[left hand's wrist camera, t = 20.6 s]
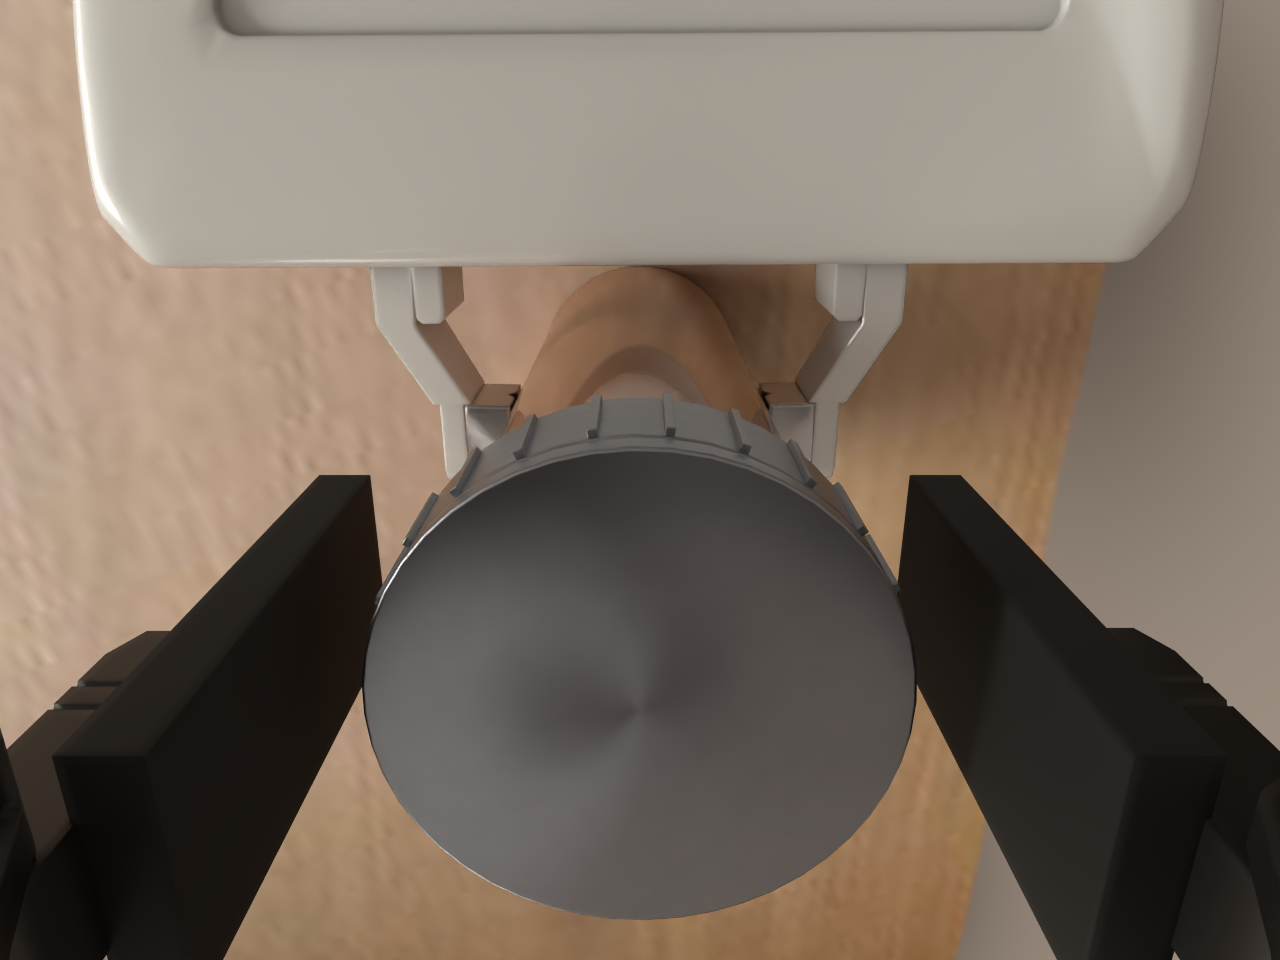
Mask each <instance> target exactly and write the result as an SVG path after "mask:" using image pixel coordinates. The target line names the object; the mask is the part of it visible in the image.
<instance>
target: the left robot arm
mask: <svg viewBox="0 0 1280 960" xmlns="http://www.w3.org/2000/svg"><path fill="white" fill-rule="evenodd" d="M898 584H899V586H900V589H901V591H898V592H897V596H898V598H899V600H900V602H901V604H902V606H903V609H904V612H905V615H906V619H907V622H908V625H909V629H910V632H911V635H912V638H913V645H914V652H915V660H916V667H917V685H918V687H919V689H920V691H921V693H922V695H923V697H924V699H925V701H926V703H927V705H928V707H929V709H930V711H931V713H932V715H933V717H934V719H935V721H936V723H937V725H938V726H939V728H940V730H941V732H942V734H943V736H944V738H945V740H946V742H947V744H948V746H949V748H950V750H951V752H952V754H953V756H954V758H955V760H956V762H957V764H958V766H959V768H960V770H961V772H962V774H963V776H964V778H965V780H966V782H967V784H968V786H969V787H970V789H971V791H972V793H973V795H974V797H975V799H976V801H977V803H978V805H979V807H980V809H981V811H982V813H983V815H984V817H985V819H986V821H987V823H988V825H989V827H990V829H991V831H992V833H993V835H994V837H995V838H996V841H997V843H998V844H999V846H1000V848H1001V850H1002V852H1003V854H1004V856H1005V858H1006V860H1007V862H1008V864H1009V866H1010V868H1011V870H1012V872H1013V874H1014V876H1015V878H1016V880H1017V882H1018V884H1019V886H1020V888H1021V890H1022V892H1023V894H1024V896H1025V898H1026V899H1027V902H1028V904H1029V905H1030V907H1031V909H1032V911H1033V913H1034V915H1035V917H1036V919H1037V921H1038V923H1039V925H1040V927H1041V929H1042V931H1043V933H1044V935H1045V937H1046V939H1047V941H1048V943H1049V945H1050V947H1051V949H1052V951H1053V953H1054V955H1055V957H1056V959H1057V960H1172V957H1173V954H1174V951H1175V953H1176V954H1177V956H1178V957H1179V959H1180V960H1280V751H1279V750H1278V749H1277V748H1276V747H1275V746H1274V745H1273V744H1272V743H1271V742H1270V741H1269V740H1267V739H1266V738H1265V737H1264V736H1263V735H1262V734H1261V733H1260V732H1259V731H1258V730H1257V729H1256V728H1255V727H1254V726H1253V725H1252V724H1251V723H1250V722H1249V721H1248V720H1247V719H1246V718H1244V717H1243V716H1242V715H1241V714H1240V713H1239V712H1238V711H1237V710H1236V709H1235V708H1234V707H1233V706H1227V700H1226V699H1225V698H1224V697H1223V696H1221V695H1220V694H1219V693H1218V692H1217V691H1216V690H1215V689H1214V688H1213V687H1212V686H1211V685H1210V684H1209V683H1204V682H1203V677H1202V676H1201V675H1200V674H1199V673H1197V672H1196V671H1195V670H1194V669H1193V668H1192V667H1191V666H1190V665H1189V664H1188V663H1187V662H1186V661H1185V660H1184V659H1183V658H1182V657H1181V656H1180V655H1179V654H1178V653H1177V652H1175V651H1174V650H1172V649H1170V648H1169V647H1167V646H1165V645H1163V644H1161V643H1160V642H1158V641H1156V640H1154V639H1152V638H1151V637H1149V636H1147V635H1145V634H1143V633H1142V632H1140V631H1138V630H1136V629H1134V628H1106V627H1105V626H1104V625H1103V624H1102V623H1101V622H1100V621H1099V620H1098V619H1097V618H1096V617H1095V616H1094V614H1093V613H1092V612H1091V611H1090V610H1089V609H1088V608H1087V607H1086V606H1085V605H1084V604H1083V603H1082V602H1081V601H1080V600H1079V599H1078V598H1077V597H1076V596H1075V595H1074V594H1073V592H1072V591H1071V590H1070V589H1069V588H1068V587H1067V586H1066V585H1065V584H1064V583H1063V582H1062V581H1061V580H1060V579H1059V578H1058V577H1057V576H1056V575H1055V574H1054V573H1053V572H1052V570H1051V569H1050V568H1049V567H1048V566H1047V565H1046V564H1045V563H1044V562H1043V561H1042V560H1041V559H1040V558H1039V557H1038V556H1037V555H1036V554H1035V553H1034V552H1033V551H1032V550H1031V548H1030V547H1029V546H1028V545H1027V544H1026V543H1025V542H1024V541H1023V540H1022V539H1021V538H1020V537H1019V536H1018V535H1017V534H1016V533H1015V532H1014V531H1013V530H1012V529H1011V528H1010V526H1009V525H1008V524H1007V523H1006V522H1005V521H1004V520H1003V519H1002V518H1001V517H1000V516H999V515H998V514H997V513H996V512H995V511H994V510H993V509H992V508H991V507H990V506H989V504H988V503H987V502H986V501H985V500H984V499H983V498H982V497H981V496H980V495H979V494H978V493H977V492H976V491H975V490H974V489H973V488H972V487H971V486H970V485H969V484H968V482H967V481H966V480H965V479H964V478H963V477H962V476H961V475H910V478H909V487H908V496H907V505H906V514H905V523H904V532H903V540H902V549H901V558H900V567H899V576H898ZM381 587H382V576H381V567H380V558H379V549H378V540H377V532H376V523H375V514H374V505H373V496H372V487H371V478H370V475H319V476H318V477H317V478H316V479H315V480H314V481H313V482H312V484H311V485H310V486H309V487H308V488H307V489H306V490H305V491H304V492H303V493H302V494H301V495H300V496H299V497H298V498H297V499H296V500H295V501H294V502H293V503H292V504H291V506H290V507H289V508H288V509H287V510H286V511H285V512H284V513H283V514H282V515H281V516H280V517H279V518H278V519H277V520H276V521H275V522H274V523H273V524H272V525H271V526H270V528H269V529H268V530H267V531H266V532H265V533H264V534H263V535H262V536H261V537H260V538H259V539H258V540H257V541H256V542H255V543H254V544H253V545H252V546H251V547H250V548H249V550H248V551H247V552H246V553H245V554H244V555H243V556H242V557H241V558H240V559H239V560H238V561H237V562H236V563H235V564H234V565H233V566H232V567H231V568H230V569H229V570H228V572H227V573H226V574H225V575H224V576H223V577H222V578H221V579H220V580H219V581H218V582H217V583H216V584H215V585H214V586H213V587H212V588H211V589H210V590H209V591H208V592H207V594H206V595H205V596H204V597H203V598H202V599H201V600H200V601H199V602H198V603H197V604H196V605H195V606H194V607H193V608H192V609H191V610H190V611H189V612H188V613H187V614H186V616H185V617H184V618H183V619H182V620H181V621H180V622H179V623H178V624H177V625H176V626H175V627H174V628H173V629H172V630H171V631H146V632H144V633H143V634H141V635H139V636H137V637H136V638H134V639H132V640H130V641H128V642H127V643H125V644H123V645H121V646H119V647H118V648H116V649H114V650H112V651H111V652H109V653H107V654H105V655H104V656H103V657H102V658H101V659H100V660H99V661H98V662H97V663H96V664H95V665H94V666H93V667H92V668H91V669H90V670H89V671H88V672H87V673H86V674H85V675H84V676H83V677H82V678H81V679H79V680H78V685H77V687H71V688H70V689H69V690H68V691H67V692H66V693H65V694H64V695H63V696H62V697H61V698H60V699H59V700H58V701H57V702H56V703H55V704H54V709H53V710H47V711H46V712H45V713H44V714H43V715H42V716H41V717H40V718H39V719H38V720H37V721H36V722H35V723H34V724H33V725H32V726H31V727H30V728H29V729H28V730H27V731H26V732H24V733H23V734H22V735H21V736H20V737H19V738H18V739H17V740H16V741H15V742H14V743H13V744H12V745H11V746H10V747H9V748H8V749H6V746H5V742H4V739H3V736H2V732H1V729H0V960H103V959H104V958H105V956H106V955H107V957H108V960H223V959H224V957H225V955H226V953H227V951H228V949H229V947H230V945H231V943H232V941H233V939H234V937H235V935H236V933H237V931H238V929H239V927H240V925H241V923H242V921H243V919H244V917H245V915H246V913H247V911H248V909H249V907H250V906H251V904H252V902H253V900H254V898H255V896H256V894H257V892H258V890H259V888H260V886H261V884H262V882H263V880H264V878H265V876H266V874H267V872H268V870H269V868H270V866H271V864H272V862H273V860H274V858H275V856H276V854H277V852H278V850H279V848H280V846H281V845H282V843H283V841H284V839H285V837H286V835H287V833H288V831H289V829H290V827H291V825H292V823H293V821H294V819H295V817H296V815H297V813H298V811H299V809H300V807H301V805H302V803H303V801H304V799H305V797H306V795H307V793H308V791H309V789H310V787H311V786H312V784H313V782H314V780H315V778H316V776H317V774H318V772H319V770H320V768H321V766H322V764H323V762H324V760H325V758H326V756H327V754H328V752H329V750H330V748H331V746H332V744H333V742H334V740H335V738H336V736H337V734H338V732H339V730H340V728H341V726H342V725H343V723H344V721H345V719H346V717H347V715H348V713H349V711H350V709H351V707H352V705H353V703H354V701H355V699H356V697H357V695H358V693H359V691H360V689H361V687H362V673H363V659H364V650H365V646H366V641H367V637H368V633H369V628H370V624H371V620H372V618H373V615H374V613H375V610H376V608H377V604H374V601H375V598H376V595H377V594H378V592H379V590H380V589H381Z"/></svg>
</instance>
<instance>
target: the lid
mask: <svg viewBox="0 0 1280 960" xmlns="http://www.w3.org/2000/svg"><path fill="white" fill-rule="evenodd" d="M867 533H868V530H867V528H866V526H865V525H864V523H863V521H862V519H861V518H860V516H859V514H858V513H857V511H856V509H855V507H854V506H853V504H852V502H851V500H850V499H849V497H848V495H847V494H846V492H845V490H844V488H843V487H842V486H841V484H840V483H839V482H837V483H836V484H834V485H832V484H831V483H830V482H829V481H828V479H827V478H826V477H825V476H824V475H823V474H822V473H821V472H820V471H819V470H818V468H817V467H816V466H815V465H814V464H813V463H811V462H810V461H809V460H808V459H807V458H805V456H804V455H803V453H802V451H801V449H800V447H799V445H798V443H797V442H796V441H794V440H793V439H790V440H789V441H788V443H786V442H785V441H783V440H782V439H780V438H778V437H777V436H775V435H773V434H772V433H770V432H769V431H767V430H765V429H764V428H762V427H760V426H758V425H755V424H753V423H751V422H749V421H747V420H744V419H742V418H741V415H740V412H739V410H736V409H734V408H730V411H729V413H727V412H724V411H720V410H717V409H714V408H710V407H707V406H704V405H700V404H695V403H689V402H683V401H677V400H672V394H668V393H663V395H662V399H658V398H622V399H611V400H602V395H596V396H593V398H592V402H590V403H585V404H581V405H576V406H572V407H567V408H564V409H561V410H558V411H556V412H553V413H550V414H547V415H544V416H542V417H539V418H537V417H536V415H535V413H533V414H531V415H528V416H527V417H526V420H525V422H524V425H522V426H520V427H518V428H516V429H514V430H512V431H510V432H508V433H507V434H505V435H503V436H502V437H500V438H499V439H498V440H496V441H495V442H493V443H492V444H490V445H489V446H488V447H486V448H485V449H483V450H482V451H480V449H479V448H478V447H476V448H474V449H473V450H472V451H471V452H470V454H469V456H468V458H467V459H466V461H465V463H464V465H463V467H462V469H461V470H460V471H459V472H458V473H456V475H455V476H454V477H453V478H452V480H451V481H450V482H449V483H448V484H447V486H446V487H445V488H444V489H443V491H442V492H441V493H440V494H439V496H438V495H436V494H435V493H432V494H431V495H430V497H429V498H428V500H427V502H426V503H425V505H424V507H423V509H422V510H421V512H420V514H419V515H418V517H417V519H416V520H415V522H414V524H413V526H412V527H411V529H410V531H409V532H408V534H407V536H406V537H405V539H404V541H403V543H402V544H403V545H404V546H405V547H404V549H403V550H402V552H401V554H400V556H399V557H398V559H397V561H396V563H395V564H394V566H393V568H392V570H391V571H390V573H389V575H388V576H387V578H386V580H385V582H384V583H383V585H382V587H381V589H380V590H379V592H378V594H377V595H376V598H375V601H374V604H377V608H376V610H375V613H374V615H373V618H372V620H371V624H370V628H369V633H368V637H367V641H366V646H365V650H364V659H363V673H362V692H363V704H364V715H365V719H366V724H367V728H368V732H369V736H370V740H371V744H372V747H373V750H374V752H375V755H376V757H377V760H378V762H379V765H380V767H381V770H382V772H383V775H384V776H385V778H386V780H387V782H388V783H389V785H390V787H391V789H392V790H393V792H394V794H395V796H396V797H397V799H398V801H399V802H400V803H401V805H402V806H403V807H404V809H405V810H406V811H407V812H408V814H409V815H410V816H411V818H412V819H413V820H414V822H415V823H416V824H417V825H418V826H419V827H420V828H421V829H422V830H423V831H424V832H425V833H426V834H427V835H428V836H429V837H430V838H431V839H432V840H433V841H434V842H435V843H436V844H437V845H438V846H439V847H440V848H441V849H442V850H443V851H445V852H446V853H447V854H449V855H450V856H451V857H452V858H454V859H455V860H456V861H457V862H459V863H460V864H461V865H463V866H464V867H465V868H467V869H469V870H470V871H472V872H474V873H475V874H477V875H478V876H480V877H482V878H483V879H485V880H487V881H488V882H490V883H492V884H494V885H496V886H498V887H500V888H502V889H504V890H506V891H509V892H511V893H513V894H515V895H517V896H519V897H522V898H525V899H528V900H530V901H533V902H536V903H539V904H542V905H545V906H548V907H551V908H555V909H559V910H564V911H568V912H572V913H576V914H581V915H588V916H595V917H603V918H611V919H634V920H652V919H666V918H679V917H685V916H691V915H697V914H702V913H708V912H713V911H716V910H720V909H723V908H727V907H730V906H734V905H738V904H741V903H744V902H746V901H749V900H751V899H754V898H757V897H759V896H762V895H764V894H767V893H769V892H772V891H774V890H775V889H777V888H779V887H781V886H783V885H785V884H787V883H789V882H791V881H792V880H794V879H796V878H798V877H800V876H801V875H803V874H804V873H806V872H807V871H809V870H810V869H812V868H813V867H815V866H816V865H818V864H819V863H820V862H822V861H823V860H825V859H826V858H827V857H829V856H830V855H831V854H832V853H833V852H834V851H835V850H837V849H838V848H839V847H840V846H841V845H842V844H843V843H845V842H846V841H847V840H848V839H849V838H850V837H851V836H852V835H853V834H854V833H855V832H856V830H857V829H858V828H859V827H860V826H861V825H862V824H863V823H864V821H865V820H866V819H867V818H868V817H869V816H870V815H871V813H872V812H873V810H874V809H875V807H876V806H877V804H878V803H879V802H880V800H881V799H882V797H883V796H884V794H885V793H886V791H887V790H888V788H889V786H890V784H891V782H892V780H893V778H894V776H895V774H896V772H897V770H898V768H899V766H900V764H901V762H902V759H903V756H904V753H905V749H906V746H907V743H908V740H909V737H910V734H911V730H912V724H913V718H914V713H915V707H916V698H917V667H916V660H915V652H914V645H913V638H912V635H911V632H910V629H909V625H908V622H907V619H906V615H905V612H904V609H903V606H902V604H901V602H900V600H899V598H898V596H897V594H896V592H898V591H901V589H900V586H899V584H898V582H897V580H896V578H895V577H894V575H893V573H892V572H891V570H890V568H889V566H888V565H887V563H886V561H885V560H884V558H883V556H882V554H881V553H880V551H879V549H878V548H877V546H876V544H875V542H874V541H873V539H872V537H871V535H870V534H868V535H866V536H865V534H867Z"/></svg>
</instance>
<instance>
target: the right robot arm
mask: <svg viewBox="0 0 1280 960" xmlns="http://www.w3.org/2000/svg"><path fill="white" fill-rule="evenodd" d="M1223 6H1224V0H73V20H74V39H75V50H76V62H77V73H78V84H79V95H80V103H81V112H82V120H83V129H84V136H85V143H86V150H87V157H88V164H89V171H90V176H91V181H92V186H93V191H94V196H95V199H96V202H97V205H98V208H99V211H100V212H101V214H102V216H103V217H104V219H105V220H106V221H107V222H108V223H109V224H110V225H111V226H112V227H113V229H114V230H115V231H116V232H117V233H118V234H119V235H120V236H121V237H122V238H123V239H124V240H125V241H126V243H127V244H128V245H129V246H130V247H131V248H132V249H133V250H134V251H135V252H136V253H137V254H138V255H139V256H140V257H141V258H142V259H143V260H144V261H145V262H147V263H149V264H150V265H152V266H155V267H159V268H306V267H370V273H371V282H372V291H373V300H374V310H375V319H376V325H377V327H378V328H379V330H380V331H381V332H382V334H383V335H384V337H385V338H386V339H387V341H388V342H389V343H390V345H391V346H392V348H393V349H394V350H395V352H396V353H397V355H398V356H399V357H400V359H401V360H402V361H403V363H404V364H405V366H406V367H407V368H408V370H409V371H410V373H411V374H412V375H413V377H414V378H415V380H416V381H417V382H418V384H419V385H420V386H421V388H422V389H423V391H424V392H425V393H426V395H427V396H428V398H429V399H430V400H431V402H432V403H433V405H440V411H441V422H442V433H443V444H444V455H445V466H446V473H447V475H448V478H449V480H452V478H453V477H454V476H455V475H456V473H458V472H459V471H460V470H461V469H462V467H463V465H464V463H465V461H466V459H467V458H468V456H469V454H470V452H471V451H472V450H473V449H474V448H476V447H478V448H479V449H480V451H482V450H483V449H485V448H486V447H488V446H489V445H490V444H492V443H493V442H495V441H496V440H498V438H499V435H500V433H501V431H502V429H503V427H504V425H505V423H506V421H507V419H508V417H509V414H510V412H511V410H512V408H513V406H514V404H515V402H516V400H517V398H518V395H519V393H520V391H521V386H520V385H519V384H484V383H485V382H484V380H483V379H482V377H481V376H480V374H479V372H478V371H477V369H476V368H475V366H474V364H473V363H472V361H471V360H470V358H469V356H468V355H467V353H466V352H465V350H464V348H463V347H462V345H461V344H460V342H459V341H458V339H457V337H456V336H455V334H454V333H453V331H452V329H451V328H450V326H449V325H448V323H447V321H446V320H445V318H446V317H447V316H448V315H450V314H451V313H452V312H453V311H454V310H455V309H456V308H457V307H458V306H459V305H460V304H461V303H462V302H463V301H464V292H463V276H462V267H468V266H630V265H791V264H816V277H815V299H816V301H817V302H818V303H819V304H820V305H821V306H822V307H824V308H825V309H826V310H827V311H828V312H829V313H830V314H832V315H833V316H834V317H833V319H832V320H831V322H830V323H829V325H828V327H827V328H826V330H825V331H824V333H823V335H822V336H821V338H820V340H819V341H818V343H817V344H816V346H815V348H814V349H813V351H812V352H811V354H810V356H809V357H808V359H807V361H806V362H805V364H804V365H803V367H802V369H801V370H800V372H799V374H798V375H797V377H796V378H795V382H781V383H759V392H760V394H761V396H762V399H763V401H764V403H765V405H766V407H767V409H768V411H769V413H770V415H771V418H772V420H773V422H774V424H775V426H776V428H777V430H778V432H779V434H780V437H781V439H782V440H783V441H785V442H786V443H788V441H789V440H790V439H793V440H794V441H796V442H797V443H798V445H799V447H800V449H801V451H802V453H803V455H804V456H805V458H807V459H808V460H809V461H810V462H811V463H813V464H814V465H815V466H816V467H817V468H818V470H819V471H820V472H821V473H822V474H823V475H824V476H825V477H826V478H830V477H831V476H832V474H833V471H834V467H835V455H836V442H837V428H838V415H839V403H846V401H847V400H848V398H849V397H850V396H851V394H852V393H853V391H854V390H855V388H856V387H857V386H858V384H859V383H860V381H861V380H862V379H863V377H864V376H865V374H866V373H867V372H868V370H869V369H870V367H871V366H872V364H873V363H874V362H875V360H876V359H877V357H878V356H879V355H880V353H881V352H882V350H883V349H884V347H885V346H886V345H887V343H888V342H889V340H890V339H891V338H892V336H893V335H894V333H895V332H896V330H897V329H898V328H899V326H900V325H901V323H902V318H903V308H904V299H905V289H906V279H907V269H908V264H953V263H1100V262H1125V261H1129V260H1132V259H1134V258H1135V257H1137V256H1138V255H1139V254H1140V253H1142V252H1143V251H1144V250H1145V249H1146V248H1147V247H1148V246H1149V245H1150V244H1151V243H1152V242H1153V241H1154V240H1155V239H1156V238H1157V236H1158V235H1159V234H1160V233H1161V232H1162V231H1163V230H1164V229H1165V228H1166V226H1167V225H1168V224H1169V223H1170V222H1171V221H1172V220H1173V219H1174V218H1175V216H1176V215H1177V214H1178V213H1179V212H1180V211H1181V210H1182V208H1183V207H1184V205H1185V203H1186V201H1187V200H1188V198H1189V195H1190V192H1191V189H1192V186H1193V183H1194V180H1195V176H1196V172H1197V168H1198V164H1199V159H1200V154H1201V150H1202V145H1203V140H1204V135H1205V129H1206V124H1207V118H1208V112H1209V107H1210V101H1211V95H1212V89H1213V82H1214V76H1215V69H1216V62H1217V56H1218V48H1219V40H1220V31H1221V23H1222V14H1223Z"/></svg>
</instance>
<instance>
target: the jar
mask: <svg viewBox="0 0 1280 960" xmlns="http://www.w3.org/2000/svg"><path fill="white" fill-rule="evenodd" d="M663 393H668V394H672V400H677V401H683V402H689V403H695V404H700V405H704V406H707V407H710V408H714V409H717V410H720V411H724V412H727V413H729V411H730V408H734V409H736V410H739V412H740V415H741V418H742V419H744V420H747V421H749V422H751V423H753V424H755V425H758V426H760V427H762V428H764V429H765V430H767V431H769V432H770V433H772V434H773V435H775V436H777V437H778V438H780V439H781V437H780V434H779V432H778V430H777V428H776V426H775V424H774V422H773V420H772V418H771V415H770V413H769V411H768V409H767V407H766V405H765V403H764V401H763V399H762V396H761V394H760V392H759V390H758V388H757V386H756V384H755V382H754V379H753V377H752V375H751V373H750V371H749V369H748V367H747V365H746V363H745V360H744V358H743V356H742V354H741V352H740V350H739V348H738V346H737V343H736V341H735V339H734V337H733V335H732V333H731V331H730V329H729V327H728V324H727V322H726V320H725V318H724V317H723V315H722V313H721V311H720V309H719V308H718V307H717V305H716V304H715V303H714V301H713V300H712V299H711V298H710V297H709V296H708V295H707V294H706V293H705V292H704V291H703V290H702V289H701V288H700V287H698V286H697V285H696V284H694V283H693V282H692V281H690V280H688V279H686V278H685V277H683V276H681V275H678V274H676V273H673V272H671V271H668V270H664V269H660V268H655V267H646V266H633V267H625V268H619V269H616V270H612V271H609V272H606V273H604V274H601V275H599V276H597V277H595V278H593V279H592V280H590V281H588V282H587V283H585V284H584V285H582V286H581V287H580V288H579V289H578V290H576V291H575V292H574V293H573V294H572V295H571V296H570V297H569V298H568V300H567V301H566V302H565V303H564V305H563V306H562V308H561V309H560V310H559V312H558V314H557V316H556V318H555V320H554V322H553V324H552V326H551V328H550V330H549V332H548V334H547V336H546V338H545V341H544V343H543V345H542V347H541V349H540V351H539V353H538V355H537V357H536V360H535V362H534V364H533V366H532V368H531V370H530V372H529V374H528V376H527V379H526V381H525V383H524V385H523V387H522V389H521V391H520V393H519V395H518V398H517V400H516V402H515V404H514V406H513V408H512V410H511V412H510V414H509V417H508V419H507V421H506V423H505V425H504V427H503V429H502V431H501V433H500V435H499V438H500V437H502V436H503V435H505V434H507V433H508V432H510V431H512V430H514V429H516V428H518V427H520V426H522V425H524V422H525V420H526V417H527V416H528V415H531V414H533V413H535V415H536V417H537V418H539V417H542V416H544V415H547V414H550V413H553V412H556V411H558V410H561V409H564V408H567V407H572V406H576V405H581V404H585V403H590V402H592V398H593V396H596V395H602V400H611V399H622V398H658V399H662V395H663ZM499 438H498V439H499Z"/></svg>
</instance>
